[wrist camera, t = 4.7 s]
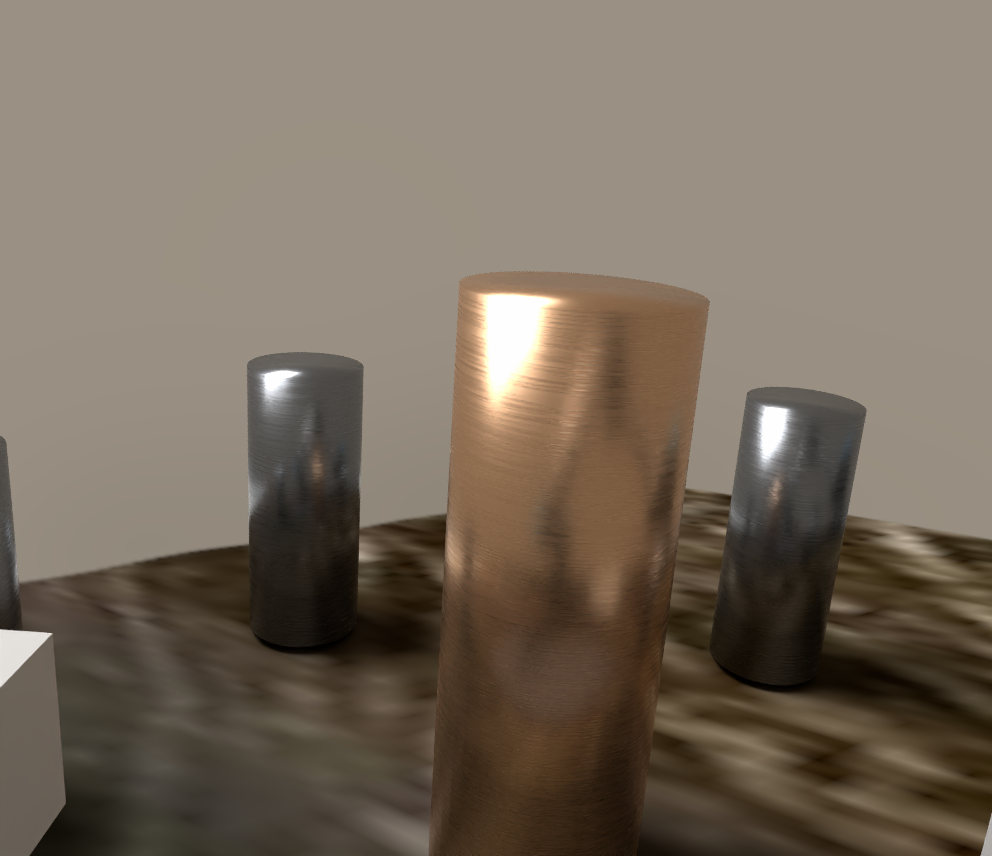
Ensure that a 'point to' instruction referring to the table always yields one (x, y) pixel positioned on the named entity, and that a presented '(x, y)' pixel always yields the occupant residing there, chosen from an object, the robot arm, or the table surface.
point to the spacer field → (336, 512)
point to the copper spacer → (559, 557)
